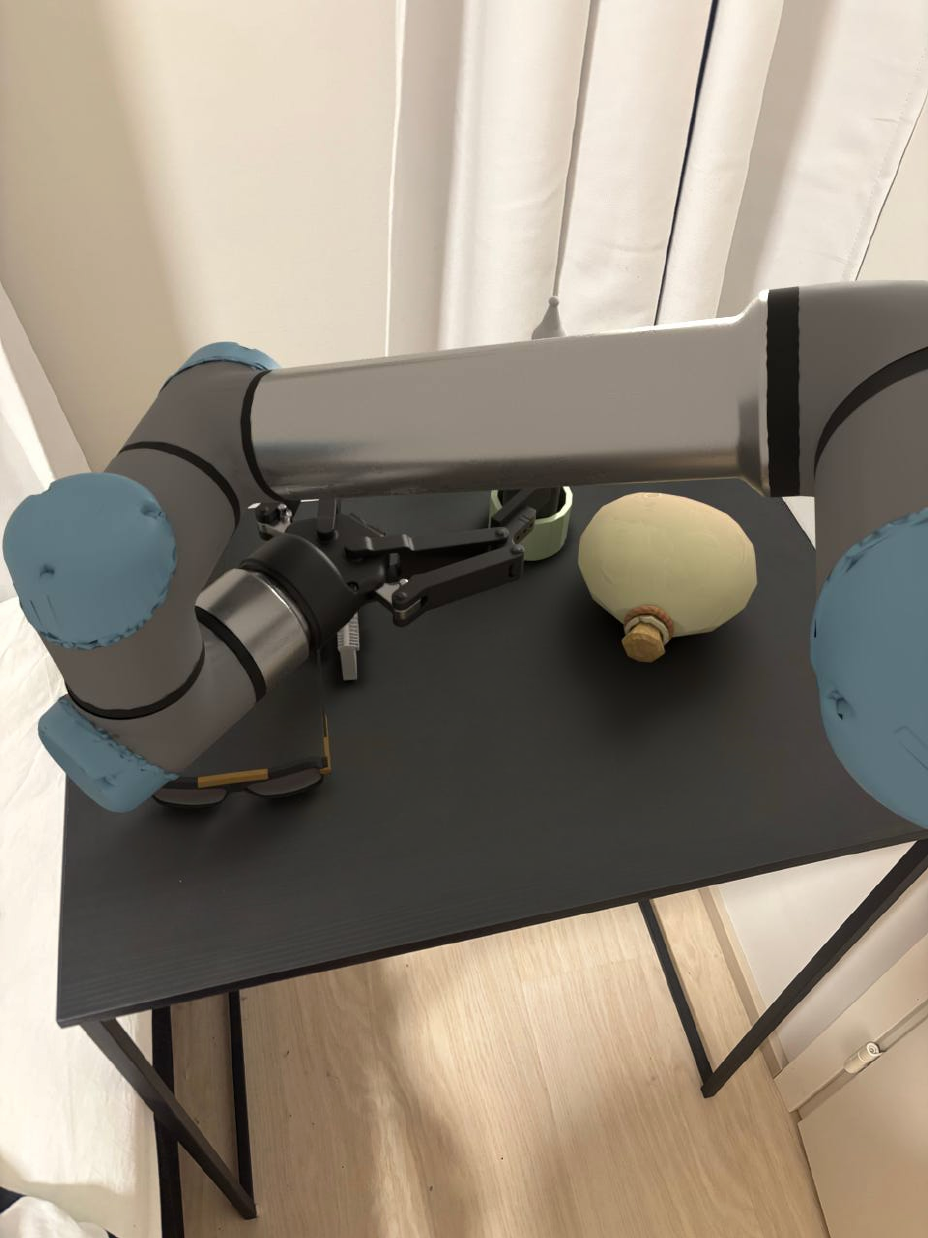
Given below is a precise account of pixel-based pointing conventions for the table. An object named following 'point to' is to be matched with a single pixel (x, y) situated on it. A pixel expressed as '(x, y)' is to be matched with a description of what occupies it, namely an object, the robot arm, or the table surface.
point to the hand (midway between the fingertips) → (474, 445)
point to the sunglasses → (251, 778)
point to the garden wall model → (349, 648)
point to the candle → (545, 329)
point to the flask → (666, 568)
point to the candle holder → (542, 527)
